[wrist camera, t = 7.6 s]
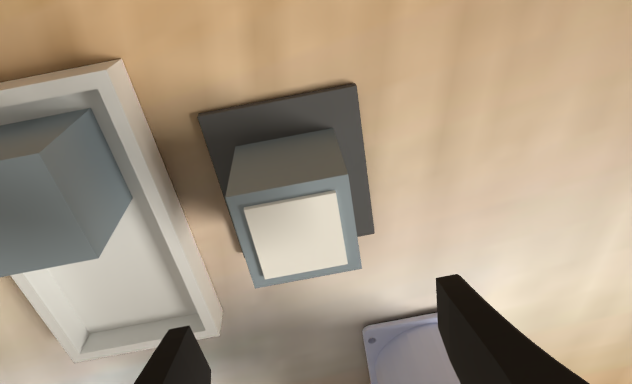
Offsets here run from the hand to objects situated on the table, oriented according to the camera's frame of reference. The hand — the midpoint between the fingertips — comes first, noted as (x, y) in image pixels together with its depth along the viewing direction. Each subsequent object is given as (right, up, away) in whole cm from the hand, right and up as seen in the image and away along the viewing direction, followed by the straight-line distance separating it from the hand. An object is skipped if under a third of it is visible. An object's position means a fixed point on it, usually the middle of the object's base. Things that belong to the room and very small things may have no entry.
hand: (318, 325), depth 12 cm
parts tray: (-11, +2, +9) cm, 14 cm away
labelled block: (-1, +4, +8) cm, 9 cm away
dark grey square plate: (-1, +5, +8) cm, 10 cm away
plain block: (-11, +5, +7) cm, 14 cm away
